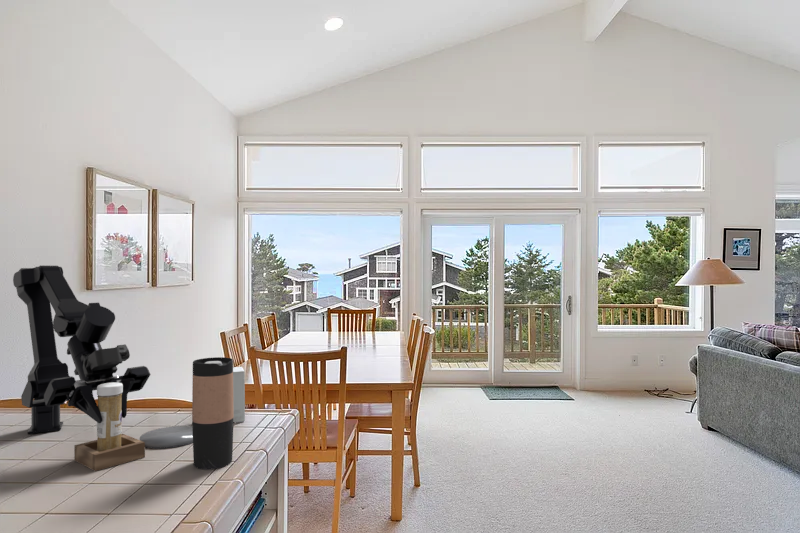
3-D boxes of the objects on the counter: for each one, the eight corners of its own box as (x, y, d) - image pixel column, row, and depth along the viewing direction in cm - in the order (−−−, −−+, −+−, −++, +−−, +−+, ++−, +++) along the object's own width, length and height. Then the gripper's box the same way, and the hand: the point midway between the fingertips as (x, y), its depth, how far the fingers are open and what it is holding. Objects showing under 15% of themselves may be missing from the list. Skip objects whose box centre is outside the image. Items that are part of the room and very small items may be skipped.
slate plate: (138, 435, 122) (138, 430, 122) (199, 427, 128) (199, 423, 128) (140, 452, 111) (140, 447, 111) (206, 442, 117) (206, 438, 117)
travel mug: (198, 456, 108) (198, 357, 108) (237, 455, 109) (237, 356, 109) (186, 470, 100) (186, 364, 101) (228, 469, 101) (228, 363, 101)
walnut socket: (74, 460, 106) (74, 445, 106) (122, 447, 114) (122, 433, 114) (95, 471, 100) (95, 455, 100) (144, 457, 108) (144, 442, 108)
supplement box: (245, 422, 133) (245, 371, 133) (213, 425, 130) (213, 373, 130) (243, 414, 140) (242, 366, 140) (212, 417, 137) (212, 367, 137)
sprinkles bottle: (123, 452, 106) (124, 384, 107) (96, 456, 104) (98, 387, 104) (120, 446, 110) (121, 380, 110) (95, 450, 108) (96, 383, 108)
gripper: (49, 337, 102) (73, 405, 95) (146, 328, 117) (172, 386, 110) (34, 373, 107) (55, 440, 100) (128, 360, 122) (153, 417, 115)
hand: (112, 419), depth 106 cm, fingers closed on sprinkles bottle, 4 cm apart
